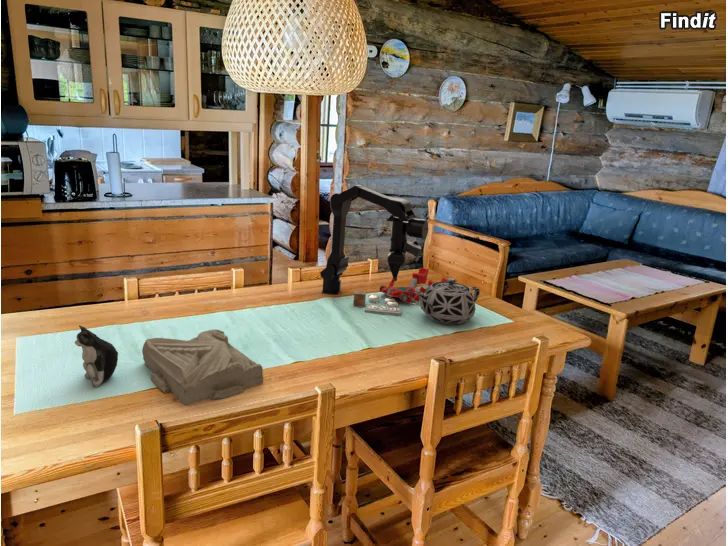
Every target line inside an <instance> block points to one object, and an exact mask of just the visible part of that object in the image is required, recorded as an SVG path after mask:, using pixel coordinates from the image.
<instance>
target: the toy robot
mask: <svg viewBox="0 0 728 546" xmlns="http://www.w3.org/2000/svg"><path fill="white" fill-rule="evenodd" d="M429 270H430V269H429V268H425V267H419V269H418V272H413V273H412V277H411V279H410V282H409V283H408V285H407V286H396V287H395V286H394V284H395V282H397V281H398V278H397V279H393V278H392V279H391V281H390V282H389V284H388V286H386V285H382V284H381V285H380V287H379V292H380V293H382V294H385V295H386V296H389V297H391V298H399V299H398V300H401V301H402V302H405V303H407V304H409V305H410V304H412V303H415V304H416V303H418V302H420V298H419V296H418V295H417V294H416V293H414V292H422V293H423V294H424V295H425V294H426V292H427V291H428V289H429V288H430V286H431V285H432V284H433V283H436V282H435V281H433V280H432V279H428V274H429ZM427 279H428V282H427ZM447 279H448V278H446V277H443V278H442V279H441V280H440V282H448V281H447ZM421 284H422V286H420V287H419V288H417V289H416V287H417V285H421Z"/></svg>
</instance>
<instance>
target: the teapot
mask: <svg viewBox="0 0 728 546" xmlns="http://www.w3.org/2000/svg"><path fill="white" fill-rule="evenodd" d="M446 279H447V281H448V282H441V281H438V282H435V283H433V284H432V285H431V286H430V288H429V289H428V291H427V292H426V293H425V294H423V293H422V292H414V293H416V294H417V295H418V296H419V298H420V300H419V306H420V309H421V311H423V313H424V314H425V315H426V316H427V317H428V318H429V319H430V320H432V321H433V322H436V323H439V324H445V325H460V324H464V323H466V322H467V321H470V320H471V319H472V318H473V317H474V315H475V313H476V301H477V300H478V298H479V297H480V292H481V290H480V288H479V287H477V286H468V285H465V284H462V283H459V282H457V279H455V278H453V277H451V278H450V277H449V278H446ZM472 291H474V293H473V292H472Z"/></svg>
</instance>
